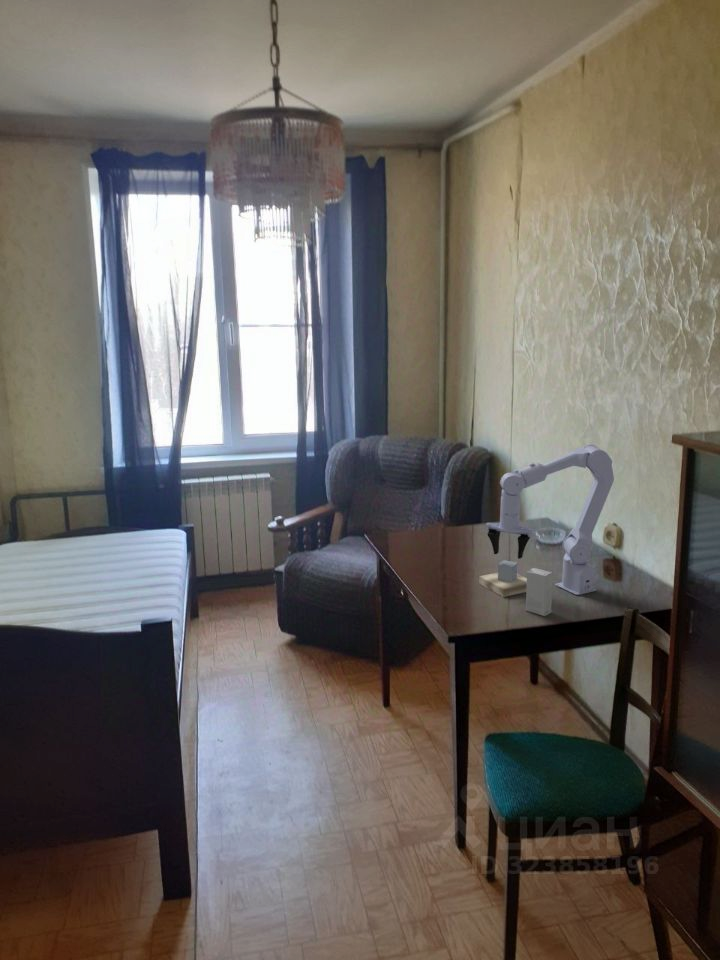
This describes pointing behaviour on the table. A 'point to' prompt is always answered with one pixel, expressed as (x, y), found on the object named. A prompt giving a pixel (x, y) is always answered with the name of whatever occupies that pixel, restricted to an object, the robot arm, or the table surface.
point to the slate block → (507, 571)
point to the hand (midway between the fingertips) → (508, 555)
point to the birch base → (504, 584)
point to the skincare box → (539, 591)
